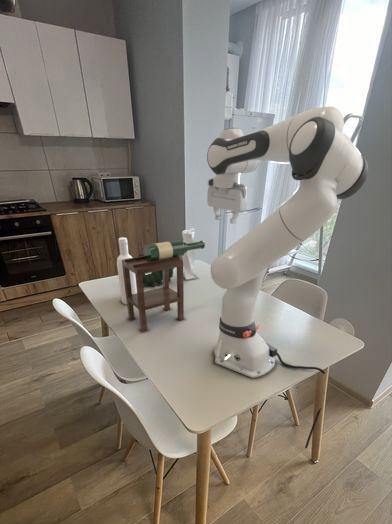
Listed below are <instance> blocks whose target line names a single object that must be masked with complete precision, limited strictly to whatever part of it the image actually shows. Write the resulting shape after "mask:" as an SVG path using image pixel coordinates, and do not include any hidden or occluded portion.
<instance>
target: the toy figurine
mask: <svg viewBox="0 0 392 524" xmlns="http://www.w3.org/2000/svg"><path fill="white" fill-rule="evenodd" d="M140 256H144V253H140V254H139V255H137V257H140ZM174 269H175V268H170V269H169V283H170V282H171V280H172V279H171V278H173V276H174ZM142 276H143V287H146V288H147V287H148V286H151V287H152V288H154V287H155V284H158V285H159V286H161V285H163V271H162V270H161V271H156V272H151V273H147V274H142Z"/></svg>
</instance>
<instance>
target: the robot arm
mask: <svg viewBox="0 0 392 524" xmlns="http://www.w3.org/2000/svg"><path fill="white" fill-rule="evenodd" d="M344 131H345V120H344V116H343V114H342V112H341V111H340V110H339V109H338V108H337V107H334V106H322V107H315V108H312V109H308V110H305V111H303V112H300V113H297V114H295V115H292V116H289V117H288V118H286V119H284V120H281V121H279V122H277V123H274V124H271V125H270V126H268V127H265V128H262V129H260V130H258V131H255V132H252V133H249V134H246V135H245V134H244V133H243V131H242V129H241V128H239V127H228V128H224V129H223V130H221V131H220V132H219V135H218V137H216V138H215V139H214V140H213V141H212V143H211V144H210V146H209V147H208V150H207V153H206V154H207V155H206V160H207V164H208V167H209V168H210V170H211V171H212V172H213V173H214V174H215V176H213V177H212V178H209V179H207V186H208V188H207V192H206V195H207V196H206V202H207V203H206V204H207V205H208V207H212V208H213V213H214V219H215V220H217V221H220V220H221V219H222V218H221V217H222V215H221V214H220V211H221V209H222V210H226V211H231V212H232V213H231V214H232V217H231V218H229V223H230V224H232V225H235V224H236V223H237V218H238V216H239V215H240V213H245V212H246V211H247V210H248V209H247V208H248V193H247V187H246V185H245V184H244V183H240V180H241V179H240V178H241V174H249V173H253V172H254V171H255V170H257V168H258V166H259V164H260V162H269V163H275V164H276V163H278V164H290V167H291V177H292V179H293V180H295V181H299V185H298V187H297V189H296V190H295V191H294V192H293V194H291V196H290V197H288V198H287V199H286V200H284V202H283V203H282V204H280V205H279V206H278V207H277V208H276V209H275V210H274V211H272V212H271V213H270V214H269V215H268V216H267V217H266V218H264V220H263V221H261V222H260V223H259V224H258V225H257V226H255V227H254V228H253V229H251V230H250V231H249V232H247V233H246V234H245V235H243V236H242V237H240V238H239V239H238V240H237V241H235V242H234V243H232V244H231V245H230V246H229V247H227V248H226V249H225V250H224V251H223V252H222V253H220V254H219V255H218V256H217V257H215V259H214V260H213V261H212V262H211V265H210V275H211V278H212V281H213V282H214V283H215V285H216V286H217V287H219V288H221V289H224V290H225V292H224V293H223V295H222V299H221V301H222V302H221V312H220V313H221V314H220V317H219V323H218V328H219V333H218V339H217V343H216V345H215V348H214V351H213V354H214V357H215V358H214V359H215V360H214V362H215V364H217V365H219V366H222V367H224V368H226V369H229V370H231V371H234V372H236V373H239V374H242V375H244V376H246V377H249V378H252V379H253V378H254V379H255V378H259V377H262V376H264V375H266V374H268V373H269V372H271V370H272V369H274V367H275V365H276V359H275V357H277V358H278V360H279V363H281V364H282V365H283V366H284V367H288V368H292V369H303V370H317V371H319V372H321V373H322V374H324V375H325V374H326V371H324V369H322V368H321V367H317V366H302V365H293V364H288V363H286V362H285V361H283V359H282V357H281V355H280V354H279V352H278V348H276V347H274V346H273V345H271V344H270V343H268V342H265V340H264V339H263V338H262V337H261V335H260V334H259V333H258V332H257V330H259V329H260V325H257V326H256V322H255V320H254V318H255V312H256V304H257V301H258V296H259V293H260V290H261V288H262V285H263V282H264V278H265V276H266V273H267V270H268V269H269V268H270V266H272V265H273V264H274V263H276V262H277V261H278V260H280V259H282V258H283V257H285V256H286V255H287V254H289V253H290V252H291V251H293V250H294V249H295V248H297V247H298V246H299V245H301V244H302V243H304V242H305V241H306V240H307V239H309V238H311V237H312V236H313V235H314V234H315V233H316V232H318V231H319V230H320V229H321V228H322V227H323V226H324V225H325V224H326V223H327V222H328V221H329V220H330V219H331V218H332V217H333V216H334V215H335V213H336V212H337V209H338V204H339V203H338V202H339V201H338V200H345V199H348V198H350V197H352V196H354V195H356V194H357V192H358V191H360V189H362V187H363V186H364V184H365V183H366V181H367V178H368V175H369V165H368V162H367V160H366V158H365V156H364V155H363V154H362V153H361V152H360V151H359V149H358V148H357V147H356V146H355V144H354V143H353V142H352V140H351V138H350V137H348V135H347V134H345V133H344ZM321 410H322V407H320V408H319V409H318V410H317V412H316V415H315V418H314V421H313V423H312V426H311V429H310V432H309V434H308V437H307V440H306V443H305V447H304V449H308V447H309V444H310V441H311V437H312V435H313V433H314V430H315V427H316V424H317V421H318V419H319V417H320V413H321Z"/></svg>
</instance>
